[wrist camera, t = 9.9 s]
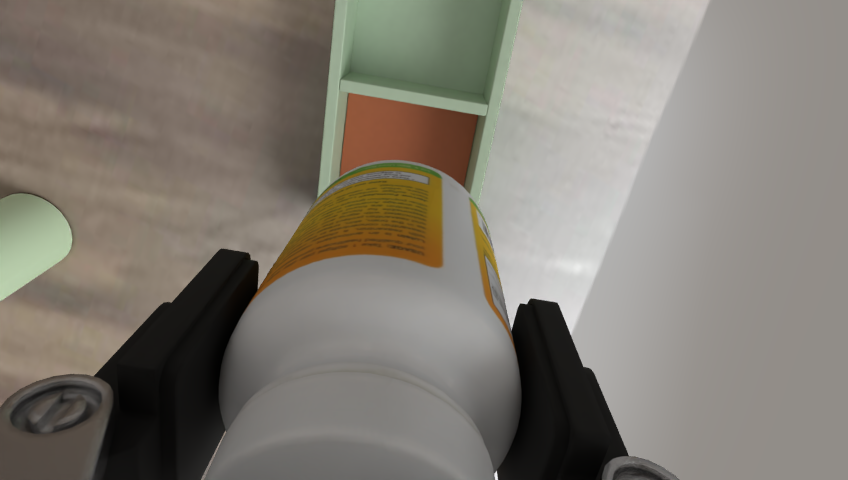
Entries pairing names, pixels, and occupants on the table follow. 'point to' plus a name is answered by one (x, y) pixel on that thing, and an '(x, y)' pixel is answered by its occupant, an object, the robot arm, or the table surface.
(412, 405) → the supplement bottle
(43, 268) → the candle
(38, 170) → the table surface
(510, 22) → the tray
